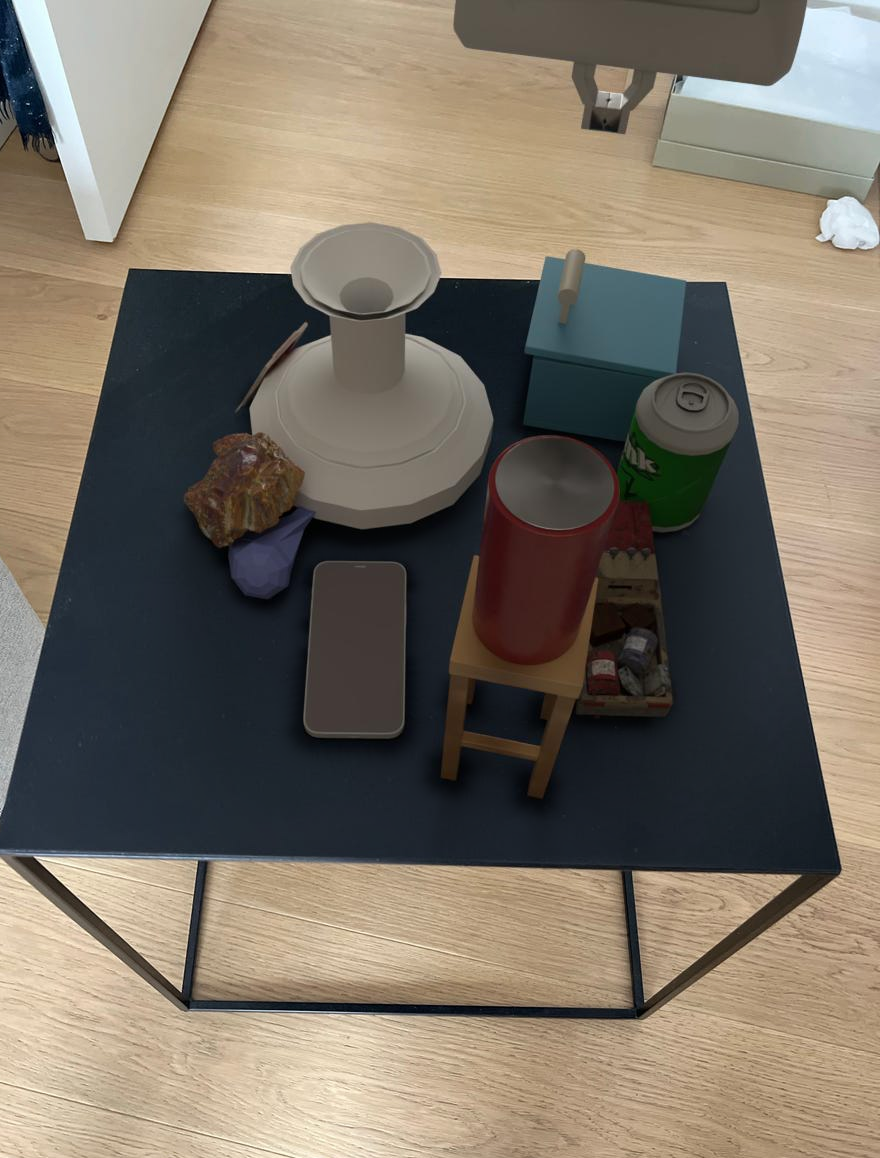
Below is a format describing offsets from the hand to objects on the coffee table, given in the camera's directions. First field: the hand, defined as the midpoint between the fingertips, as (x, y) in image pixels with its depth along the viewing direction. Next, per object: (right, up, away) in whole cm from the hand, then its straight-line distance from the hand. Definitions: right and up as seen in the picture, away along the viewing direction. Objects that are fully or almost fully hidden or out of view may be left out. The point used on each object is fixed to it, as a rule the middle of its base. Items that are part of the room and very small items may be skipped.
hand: (603, 127), depth 64 cm
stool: (-6, -41, +7) cm, 42 cm away
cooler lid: (+4, -7, +18) cm, 20 cm away
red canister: (-6, -32, -7) cm, 34 cm away
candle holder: (-16, -18, +21) cm, 32 cm away
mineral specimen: (-27, -19, +11) cm, 35 cm away
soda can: (+8, -22, +19) cm, 30 cm away
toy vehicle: (+3, -32, +12) cm, 35 cm away
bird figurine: (-24, -27, +9) cm, 37 cm away
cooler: (+4, -11, +25) cm, 28 cm away
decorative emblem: (-21, -6, +20) cm, 30 cm away
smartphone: (-17, -34, +11) cm, 40 cm away
